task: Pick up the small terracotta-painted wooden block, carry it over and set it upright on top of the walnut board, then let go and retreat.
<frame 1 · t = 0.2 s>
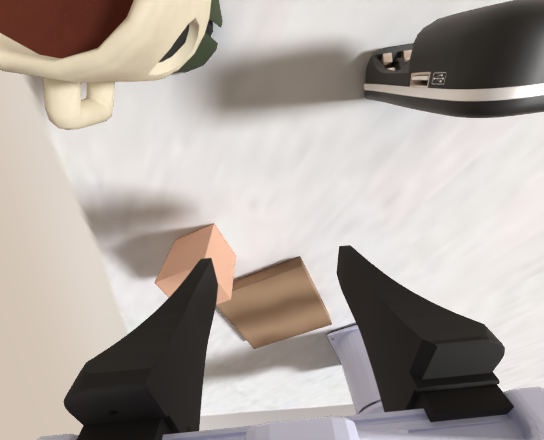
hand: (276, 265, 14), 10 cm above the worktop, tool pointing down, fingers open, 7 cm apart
character mug: (174, 16, 16), on the worktop
battery charger: (406, 64, 18), on the worktop
walnut board: (274, 299, 31), on the worktop
terracotta block: (206, 247, 25), on the worktop
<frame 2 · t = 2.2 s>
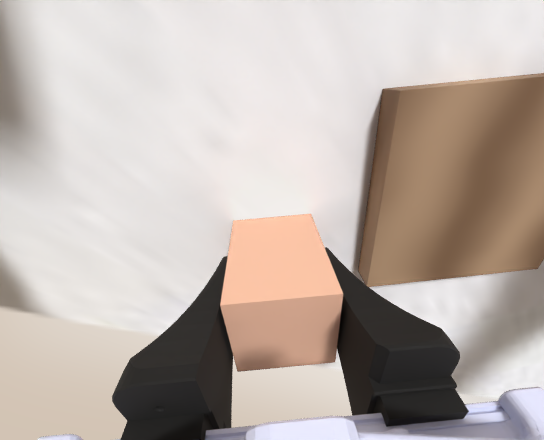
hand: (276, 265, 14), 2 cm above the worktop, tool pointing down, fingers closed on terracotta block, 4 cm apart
walnut board: (457, 185, 14), on the worktop
terracotta block: (274, 248, 15), on the worktop, touching gripper
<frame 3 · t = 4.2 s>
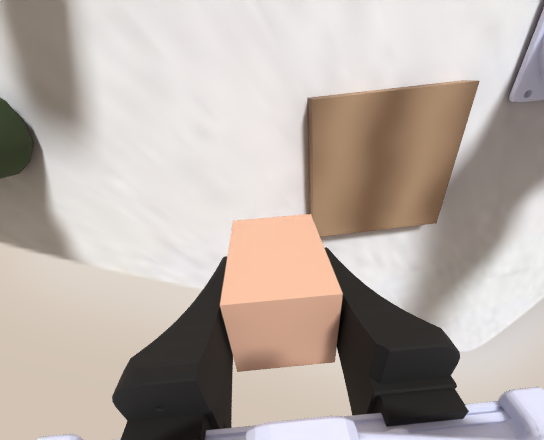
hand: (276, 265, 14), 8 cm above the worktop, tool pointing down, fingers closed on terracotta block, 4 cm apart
walnut board: (372, 162, 20), on the worktop
terracotta block: (274, 248, 15), point 7 cm above the worktop, touching gripper
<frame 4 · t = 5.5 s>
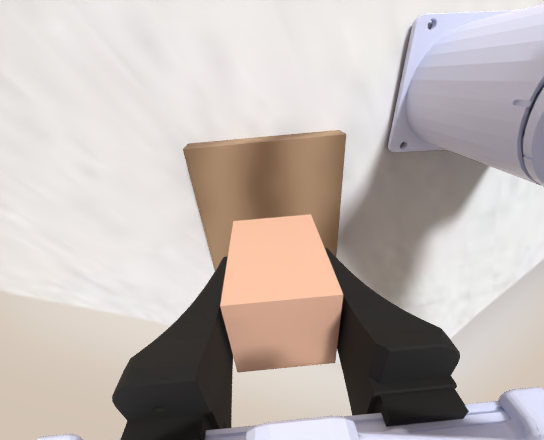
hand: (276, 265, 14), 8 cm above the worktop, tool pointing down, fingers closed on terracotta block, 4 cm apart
walnut board: (269, 201, 21), on the worktop
terracotta block: (274, 248, 15), point 6 cm above the worktop, touching gripper
when the fingers open (5 cm above the worktop, at t = 6.5 s): terracotta block drops 2 cm, resting on walnut board.
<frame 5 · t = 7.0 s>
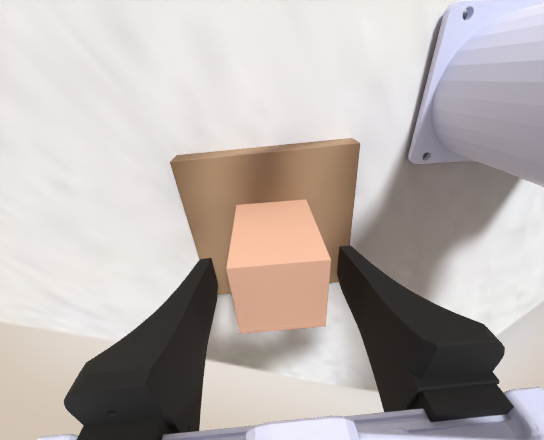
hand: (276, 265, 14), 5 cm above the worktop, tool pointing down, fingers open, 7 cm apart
walnut board: (271, 217, 18), on the worktop, touching terracotta block
terracotta block: (273, 231, 17), point 1 cm above the worktop, touching walnut board
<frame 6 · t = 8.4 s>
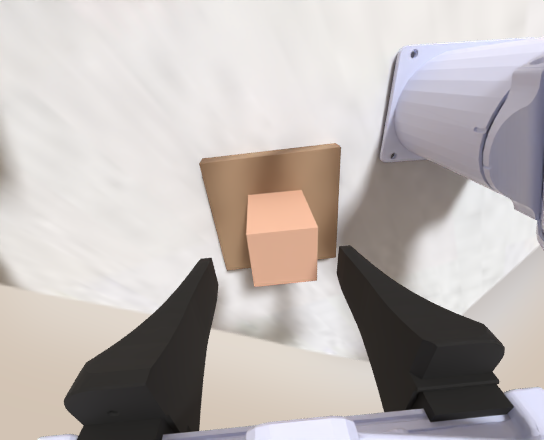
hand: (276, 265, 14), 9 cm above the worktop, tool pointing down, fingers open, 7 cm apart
walnut board: (274, 206, 23), on the worktop
terracotta block: (276, 215, 21), point 1 cm above the worktop
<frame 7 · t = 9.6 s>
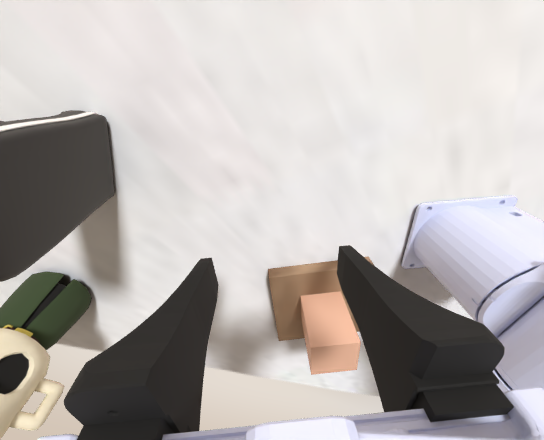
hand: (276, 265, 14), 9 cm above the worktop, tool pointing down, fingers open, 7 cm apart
character mug: (64, 288, 26), on the worktop
battery charger: (89, 152, 19), on the worktop
walnut board: (317, 293, 30), on the worktop, touching terracotta block
terracotta block: (320, 307, 28), point 1 cm above the worktop, touching walnut board
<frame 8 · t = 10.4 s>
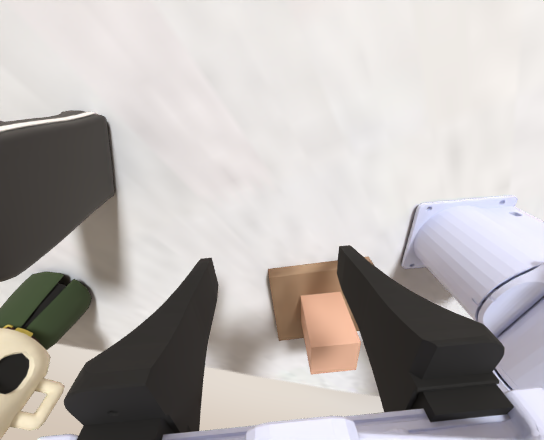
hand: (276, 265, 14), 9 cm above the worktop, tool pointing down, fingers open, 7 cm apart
character mug: (64, 288, 26), on the worktop
battery charger: (89, 152, 19), on the worktop
walnut board: (317, 293, 30), on the worktop, touching terracotta block
terracotta block: (320, 307, 28), point 1 cm above the worktop, touching walnut board
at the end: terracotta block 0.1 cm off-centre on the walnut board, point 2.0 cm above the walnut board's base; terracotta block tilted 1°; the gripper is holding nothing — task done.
